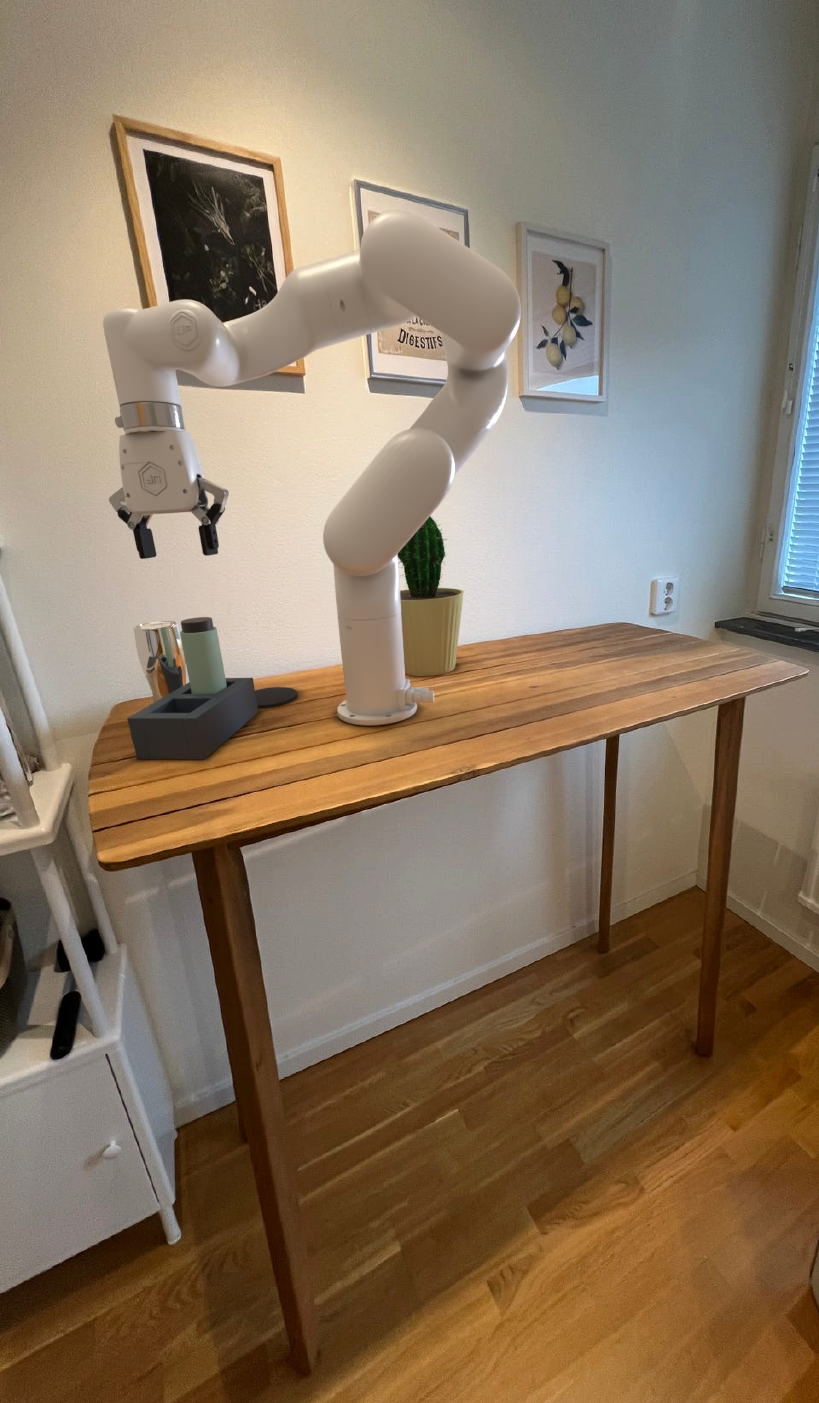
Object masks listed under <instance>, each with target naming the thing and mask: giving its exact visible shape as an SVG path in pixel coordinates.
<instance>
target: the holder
mask: <svg viewBox="0 0 819 1403" xmlns="http://www.w3.org/2000/svg"><path fill="white" fill-rule="evenodd" d="M225 678H226V684H227V688H226V689H225V690H223V691H222V692H220V693H219V694H192V692H191V687H190V682H186V684H185V685H184V686H182V687H180V688H178V689H177V690H175V691H173V692H171V693H170V694H168V695H166V696H165V697H163V698H161V699H159V700H158V701H156V702H154V701H153V702H152V703H151V704H148V705H147V706H146V707H143V708H142V709H141V710H139V711H137V712H136V713H134V714H132V715H130V716H129V717H127V718H126V719H127V724H128V728H129V733H130V736H131V740H132V746H133V748H134V753H135V757H136V760H196V761H197V760H198V761H199V760H201V761H202V760H206V759H207V758H208V757H209V756H210V755H212V754H213V753H214V752H215V751H216V750H218V748H220V747H221V746H222V745H224V743H226V741H228V740H229V739H230V738H231V737H232V736H233V735H234V734H236V733H237V732H238V731H239V730H240V729H242V727H243V726H245V725H246V724H247V723H248V722H249V721H250V720H251V719H253V717H255V716H256V715H257V714H258V713H259V708H258V707H257V701H256V694H255V690H256V689H255V683H254V678H253V677H225Z"/></svg>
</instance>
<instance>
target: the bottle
mask: <svg viewBox="0 0 819 1403" xmlns="http://www.w3.org/2000/svg"><path fill="white" fill-rule="evenodd" d="M180 626H181V631H180V630H179V631H180V637H181V642H182V647H183V652H184V657H185V662H186V673H187V677H188V680H189V682H190V687H191V692H192V694H219V693H220V692H222V691H223V690H225V689H226V688H227V684H226V678H227V677H226V674H225V668H224V667H225V666H224V662H223V657H222V651H221V650H222V649H221V645H220V639H219V633H218V628H217V627H216V626H214V622H213V617H210V616H199V617H191V618H185V619H183V620H180ZM189 682H188V683H189Z"/></svg>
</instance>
